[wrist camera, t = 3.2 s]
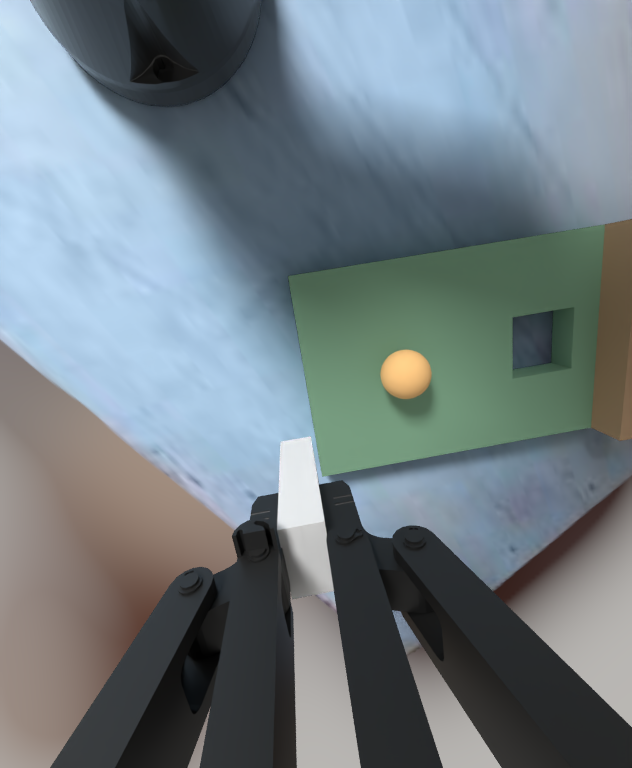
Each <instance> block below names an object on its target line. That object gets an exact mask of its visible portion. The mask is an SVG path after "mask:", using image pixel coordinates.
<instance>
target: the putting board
mask: <svg viewBox="0 0 632 768" xmlns="http://www.w3.org/2000/svg"><path fill="white" fill-rule="evenodd" d="M288 280H289V286H290V292H291V297H292V303H293V309H294V315H295V321H296V326H297V332H298V338H299V344H300V350H301V356H302V361H303V367H304V373H305V379H306V385H307V391H308V396H309V402H310V408H311V414H312V420H313V426H314V431H315V437H316V443H317V449H318V455H319V460H320V466H321V471H322V477H323V476H329V475H334V474H340V473H345V472H351V471H356V470H362V469H367V468H373V467H378V466H384V465H389V464H395V463H400V462H405V461H411V460H416V459H422V458H427V457H433V456H438V455H444V454H449V453H455V452H460V451H466V450H471V449H477V448H482V447H488V446H493V445H498V444H504V443H509V442H515V441H520V440H526V439H531V438H537V437H542V436H548V435H553V434H559V433H564V432H570V431H575V430H581V429H586V428H593V429H595V430H597V431H600V432H602V433H604V434H606V435H608V436H610V437H613V438H615V439H617V440H619V441H622V440H628V439H632V219H630V220H625V221H620V222H615V223H610V224H605V225H599V226H593V227H586V228H580V229H574V230H568V231H562V232H556V233H549V234H543V235H537V236H531V237H525V238H519V239H513V240H506V241H500V242H494V243H488V244H482V245H476V246H469V247H463V248H457V249H451V250H445V251H439V252H433V253H426V254H420V255H414V256H408V257H402V258H396V259H389V260H383V261H377V262H371V263H365V264H359V265H353V266H346V267H340V268H334V269H328V270H322V271H316V272H309V273H303V274H297V275H291V276H288ZM548 311H553V325H552V356H551V363H547V364H541V365H536V366H530V367H524V368H519V369H513V317H518V316H524V315H530V314H536V313H542V312H548ZM399 350H413V351H416V352H418V353H420V354H421V355H423V356H424V357H425V358H426V359H427V361H428V362H429V364H430V367H431V372H432V376H431V381H430V384H429V386H428V388H427V389H426V390H425V391H424V392H423V393H422V394H421V395H419V396H417V397H415V398H411V399H400V398H397V397H394V396H393V395H391V394H390V393H389V392H387V390H386V389H385V388H384V386H383V384H382V382H381V376H380V373H381V368H382V365H383V363H384V361H385V360H386V359H387V357H388V356H390V355H391V354H392V353H394V352H396V351H399Z"/></svg>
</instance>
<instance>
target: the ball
mask: <svg viewBox="0 0 632 768" xmlns="http://www.w3.org/2000/svg"><path fill="white" fill-rule="evenodd" d="M380 376H381V382H382V384H383V386H384V388H385V389H386V390H387V392H389V393H390V394H391V395H393V396H394V397H397V398H400V399H411V398H415V397H417V396H419V395H421V394H422V393H423V392H424V391H425V390H426V389H427V388H428V386H429V384H430V381H431V376H432V372H431V367H430V364H429V362H428V361H427V359H426V358H425V357H424V356H423V355H421V354H420V353H418V352H416V351H413V350H399V351H396V352H394V353H392V354H391V355H390V356H388V357H387V359H386V360H385V361H384V363H383V365H382V368H381V373H380Z"/></svg>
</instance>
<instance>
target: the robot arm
mask: <svg viewBox="0 0 632 768" xmlns="http://www.w3.org/2000/svg"><path fill="white" fill-rule="evenodd" d="M30 1H31V3H32V5H33V6H34V8H35V10H36V11H37V13H38V15H39V16H40V18H41V19H42V21H43V22H44V24H45V25H46V27H47V28H48V29H49V31H50V32H51V33H52V35H53V36H54V37H55V38H56V39H57V41H58V42H59V43H60V44H61V45H62V46H63V47H64V48H65V50H66V51H67V52H68V53H69V54H70V55H71V56H72V57H73V58H74V59H75V60H76V61H77V62H78V64H79V65H80V66H81V67H82V68H83V69H84V70H85V71H86V72H87V73H89V74H90V75H91V76H92V77H93V78H94V79H96V80H97V81H98V82H100V83H101V84H102V85H104V86H105V87H107V88H108V89H110V90H112V91H113V92H115V93H117V94H119V95H121V96H123V97H125V98H128V99H130V100H133V101H136V102H140V103H143V104H148V105H154V106H178V105H184V104H188V103H192V102H195V101H198V100H200V99H202V98H204V97H206V96H208V95H210V94H212V93H213V92H215V91H216V90H218V89H219V88H220V87H221V86H223V85H224V84H225V83H226V82H227V81H228V80H229V79H230V78H231V77H232V76H233V74H234V73H235V72H236V71H237V69H238V68H239V67H240V65H241V64H242V62H243V60H244V59H245V57H246V55H247V53H248V51H249V49H250V47H251V44H252V42H253V39H254V36H255V33H256V29H257V26H258V21H259V16H260V9H261V0H30ZM232 538H233V542H234V546H235V550H236V553H237V557H238V559H237V562H236V563H235V564H233V565H232V566H231V567H229V568H227V569H225V570H223V571H221V572H218V573H216V574H214V575H213V574H212V572H211V571H210V570H209V569H208V568H204V567H197V568H192V569H190V570H188V571H185V572H184V573H182V574H181V575H179V576H178V577H177V578H176V579H175V580H174V581H173V582H172V583H171V585H170V586H169V588H168V589H167V591H166V592H165V594H164V595H163V597H162V598H161V600H160V601H159V603H158V604H157V606H156V607H155V609H154V610H153V612H152V613H151V615H150V617H149V618H148V620H147V621H146V623H145V624H144V626H143V627H142V629H141V630H140V632H139V633H138V635H137V636H136V638H135V639H134V641H133V642H132V644H131V646H130V647H129V648H128V650H127V652H126V653H125V655H124V656H123V658H122V659H121V661H120V662H119V664H118V665H117V667H116V668H115V670H114V671H113V673H112V674H111V676H110V678H109V679H108V680H107V682H106V684H105V685H104V687H103V688H102V690H101V691H100V693H99V694H98V696H97V697H96V699H95V700H94V702H93V703H92V705H91V707H90V708H89V709H88V711H87V712H86V714H85V716H84V717H83V719H82V720H81V722H80V723H79V725H78V726H77V728H76V729H75V731H74V733H73V734H72V736H71V737H70V738H69V740H68V741H67V743H66V744H65V746H64V748H63V749H62V751H61V752H60V754H59V755H58V757H57V758H56V760H55V761H54V763H53V764H52V766H51V767H50V768H187V767H188V764H189V762H190V759H191V756H192V754H193V751H194V749H195V746H196V743H197V741H198V738H199V735H200V733H201V730H202V727H203V725H204V722H205V719H206V717H207V714H208V712H209V709H210V713H209V719H208V724H207V730H206V735H205V741H204V747H203V752H202V758H201V763H200V768H297V765H296V762H297V761H296V717H295V673H294V628H293V611H292V607H291V602H290V591H291V596H292V599H297V598H302V597H307V596H312V595H317V594H322V593H327V592H332V591H334V595H335V601H336V608H337V614H338V621H339V627H340V634H341V640H342V647H343V653H344V660H345V665H346V673H347V680H348V686H349V692H350V699H351V706H352V712H353V719H354V725H355V732H356V738H357V745H358V751H359V758H360V764H361V768H443V766H442V763H441V760H440V757H439V754H438V751H437V748H436V745H435V742H434V739H433V736H432V732H431V730H430V727H429V723H428V720H427V717H426V714H425V711H424V708H423V705H422V702H421V699H420V696H419V692H418V689H417V686H416V683H415V680H414V677H413V674H412V671H411V668H410V665H409V662H408V659H407V656H406V652H405V649H404V646H403V643H402V640H401V637H400V634H399V631H398V628H397V625H396V622H395V619H394V615H393V612H392V610H395V611H401V613H402V615H403V617H404V619H405V620H406V622H407V623H408V625H409V626H410V628H411V629H412V631H413V633H414V634H415V636H416V637H417V639H418V640H419V642H420V643H421V645H422V646H423V648H424V649H425V651H426V652H427V654H428V655H429V657H430V659H431V660H432V662H433V663H434V665H435V666H436V668H437V669H438V671H439V672H440V674H441V675H442V677H443V678H444V680H445V682H446V683H447V684H448V686H449V688H450V689H451V691H452V692H453V694H454V695H455V697H456V698H457V700H458V701H459V703H460V704H461V706H462V708H463V709H464V711H465V712H466V714H467V715H468V717H469V718H470V720H471V721H472V723H473V724H474V726H475V727H476V729H477V731H478V732H479V733H480V735H481V737H482V738H483V740H484V741H485V743H486V744H487V746H488V747H489V749H490V750H491V752H492V753H493V755H494V757H495V758H496V760H497V761H498V763H499V764H500V766H501V767H502V768H632V727H631V726H630V725H629V724H628V723H627V722H626V721H625V720H624V719H623V718H622V717H621V716H619V714H617V712H616V711H614V710H613V709H612V708H611V707H610V706H609V705H608V704H607V703H606V702H605V701H604V700H603V699H602V698H601V697H600V696H599V695H598V694H597V693H596V692H595V691H594V690H593V689H592V688H591V687H590V686H589V685H588V684H587V683H586V682H585V681H584V680H583V679H582V678H581V677H580V676H579V675H578V674H577V673H576V672H575V671H574V670H573V669H572V668H571V667H570V666H568V665H567V664H566V663H565V662H564V661H563V660H562V659H561V658H560V657H559V656H558V655H557V654H556V653H555V652H554V651H553V650H552V649H551V648H550V647H549V646H548V645H547V644H546V643H545V642H544V641H543V640H542V639H541V638H540V637H539V636H538V635H537V634H536V633H535V632H534V631H533V630H532V629H531V628H530V627H529V626H528V625H527V624H525V623H524V622H523V621H522V620H521V619H520V618H519V617H518V616H517V615H516V614H515V613H514V612H513V611H512V610H511V609H510V608H509V607H508V606H507V605H506V604H505V603H504V602H503V601H502V600H501V599H500V598H499V597H498V596H497V595H495V593H494V592H493V591H492V590H491V589H490V588H489V587H488V586H487V585H486V584H485V583H484V582H483V581H482V580H481V579H480V578H479V577H477V576H476V575H475V574H474V573H473V572H472V571H471V570H470V569H469V568H468V567H467V566H466V565H465V564H464V563H463V562H462V561H461V560H460V559H459V558H458V557H457V556H456V555H455V554H454V553H453V552H452V551H451V550H450V549H449V548H448V547H447V546H446V545H445V544H444V543H443V542H442V541H441V540H440V539H439V538H438V537H437V536H436V535H435V534H434V533H432V532H431V531H429V530H428V529H427V528H424V527H420V526H406V527H402V528H400V529H399V530H397V531H396V532H395V533H394V535H393V538H381V537H376V536H373V535H371V534H369V533H367V532H366V531H365V530H364V528H363V527H362V524H361V521H360V518H359V515H358V512H357V509H356V506H355V502H354V499H353V496H352V493H351V490H350V487H349V486H348V485H347V484H346V483H345V482H344V481H336V482H331V483H325V484H320V485H319V481H318V475H317V469H316V464H315V458H314V452H313V447H312V441H311V436H310V437H304V438H299V439H293V440H288V441H282V442H281V445H280V469H279V493H276V494H271V495H265V496H260V497H258V498H257V499H256V501H255V502H254V503H253V505H252V510H251V516H250V520H249V521H246V522H245V523H243V524H241V525H240V526H239V527H238V528H237V529H236V530H235V531H234V533H233V535H232ZM210 706H211V708H210Z"/></svg>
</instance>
